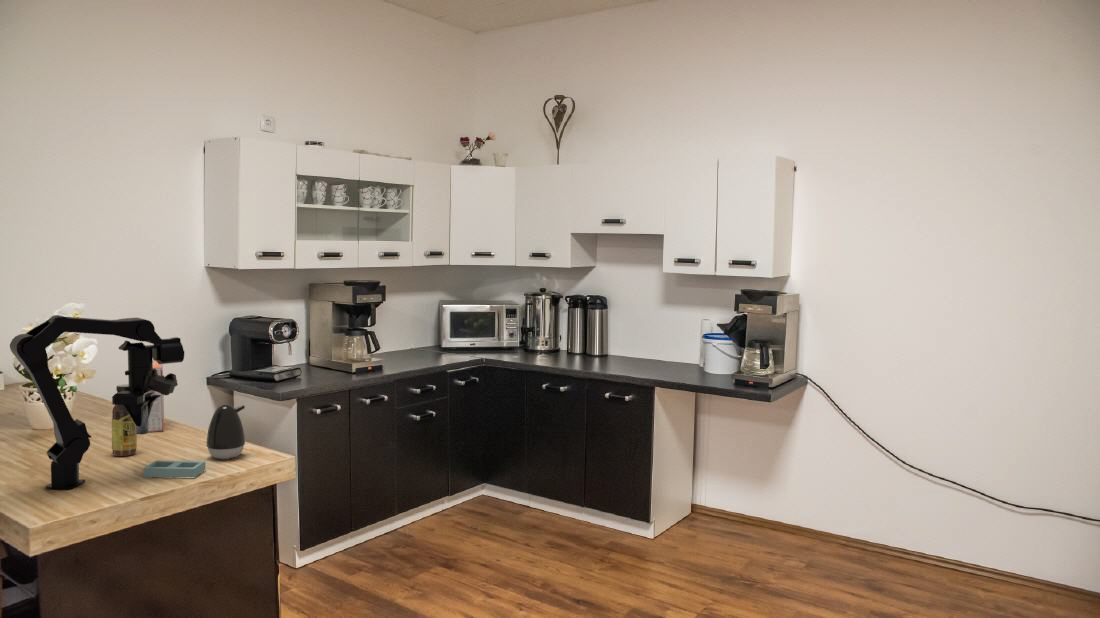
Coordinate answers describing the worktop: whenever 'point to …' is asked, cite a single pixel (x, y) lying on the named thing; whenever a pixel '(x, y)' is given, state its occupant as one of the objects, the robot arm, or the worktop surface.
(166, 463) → the pegboard
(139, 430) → the peg
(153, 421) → the cracker box
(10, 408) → the worktop surface
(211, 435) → the pump dispenser
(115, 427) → the sauce bottle
